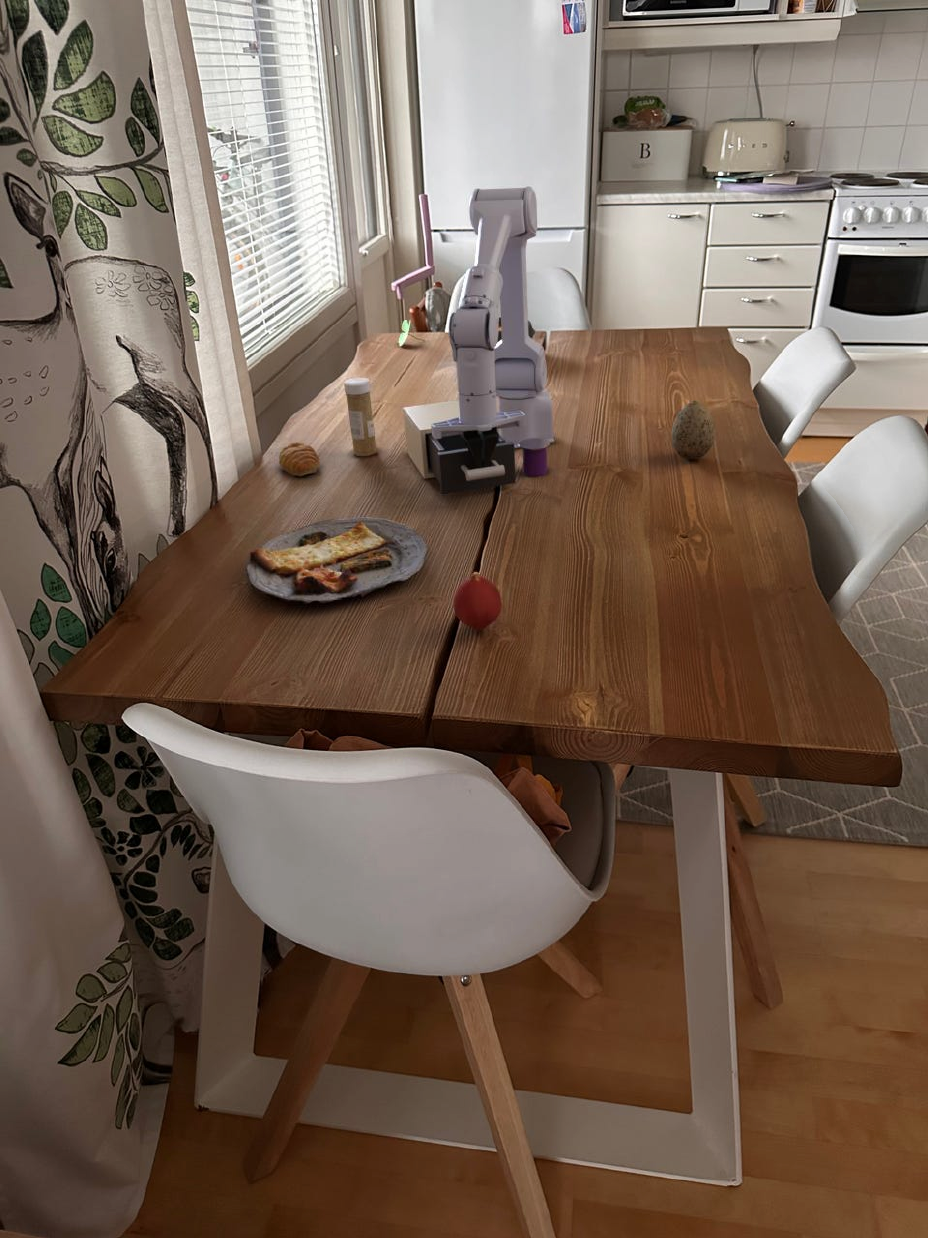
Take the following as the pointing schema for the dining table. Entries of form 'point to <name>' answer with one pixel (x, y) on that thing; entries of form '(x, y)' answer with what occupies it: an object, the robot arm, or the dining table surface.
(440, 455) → the pod drawer
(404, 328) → the seedling
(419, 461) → the mini desk drawer box
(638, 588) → the dining table surface
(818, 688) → the dining table surface
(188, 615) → the dining table surface
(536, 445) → the coffee pod
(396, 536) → the food plate
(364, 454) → the sprinkles bottle
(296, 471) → the pastry
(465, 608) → the onion
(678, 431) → the decorative egg
